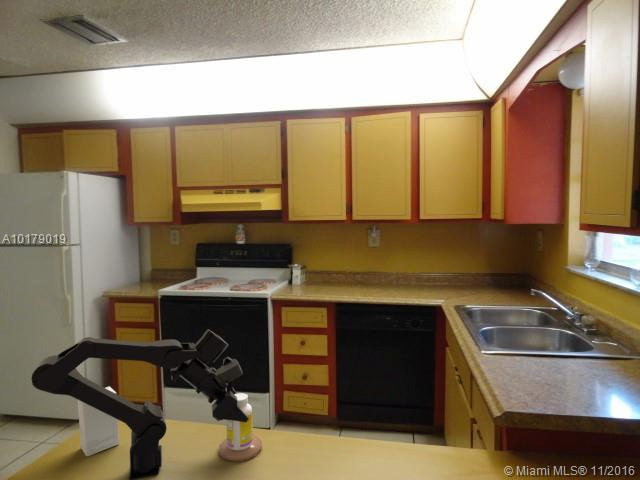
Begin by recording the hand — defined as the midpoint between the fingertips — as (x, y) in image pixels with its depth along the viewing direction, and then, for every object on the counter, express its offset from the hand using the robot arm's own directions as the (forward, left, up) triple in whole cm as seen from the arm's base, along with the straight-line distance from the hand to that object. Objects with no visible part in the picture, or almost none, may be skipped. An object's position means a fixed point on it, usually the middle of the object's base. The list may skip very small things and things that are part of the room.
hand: (245, 412), depth 104 cm
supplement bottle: (-2, 0, -9) cm, 9 cm away
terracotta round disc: (-1, 0, -10) cm, 10 cm away
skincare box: (-37, +13, -10) cm, 41 cm away
